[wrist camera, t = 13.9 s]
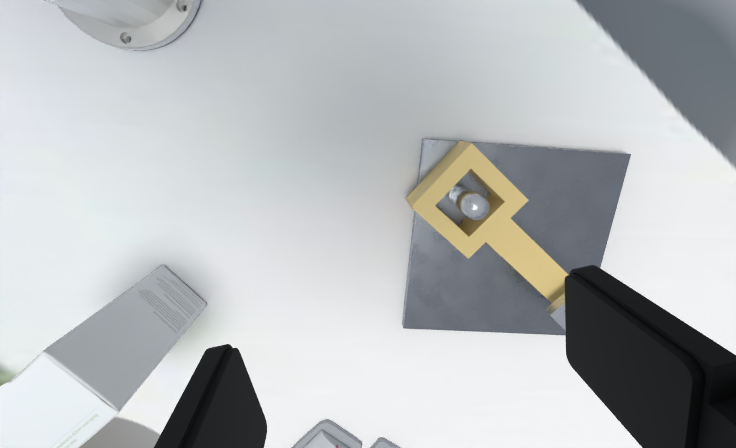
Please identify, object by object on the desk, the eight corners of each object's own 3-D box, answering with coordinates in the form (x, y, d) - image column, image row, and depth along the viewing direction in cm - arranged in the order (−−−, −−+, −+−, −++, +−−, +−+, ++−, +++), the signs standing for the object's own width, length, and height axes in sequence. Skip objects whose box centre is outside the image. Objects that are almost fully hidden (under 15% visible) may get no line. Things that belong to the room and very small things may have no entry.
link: (405, 198, 35) (410, 207, 32) (460, 140, 34) (471, 143, 31) (528, 309, 39) (544, 327, 36) (581, 261, 38) (603, 275, 35)
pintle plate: (422, 138, 35) (438, 144, 28) (623, 153, 36) (682, 161, 29) (402, 323, 40) (411, 363, 34) (576, 330, 42) (617, 370, 35)
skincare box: (158, 346, 40) (42, 483, 25) (109, 306, 39) (-45, 426, 24) (211, 302, 39) (122, 417, 24) (162, 258, 37) (35, 353, 22)
